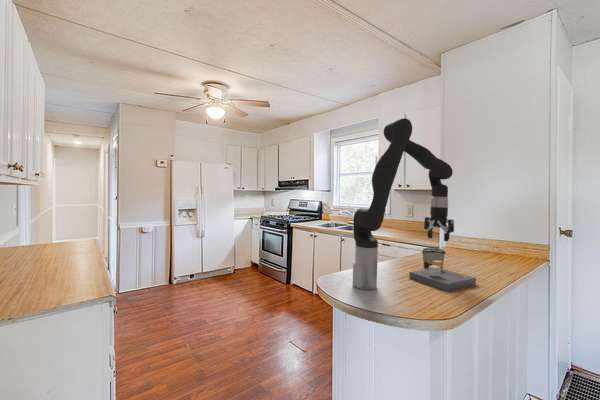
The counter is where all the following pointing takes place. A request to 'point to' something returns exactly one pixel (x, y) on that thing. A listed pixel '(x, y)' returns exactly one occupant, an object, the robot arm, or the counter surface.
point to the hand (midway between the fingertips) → (438, 239)
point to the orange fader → (438, 263)
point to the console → (443, 279)
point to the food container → (432, 256)
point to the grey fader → (434, 270)
